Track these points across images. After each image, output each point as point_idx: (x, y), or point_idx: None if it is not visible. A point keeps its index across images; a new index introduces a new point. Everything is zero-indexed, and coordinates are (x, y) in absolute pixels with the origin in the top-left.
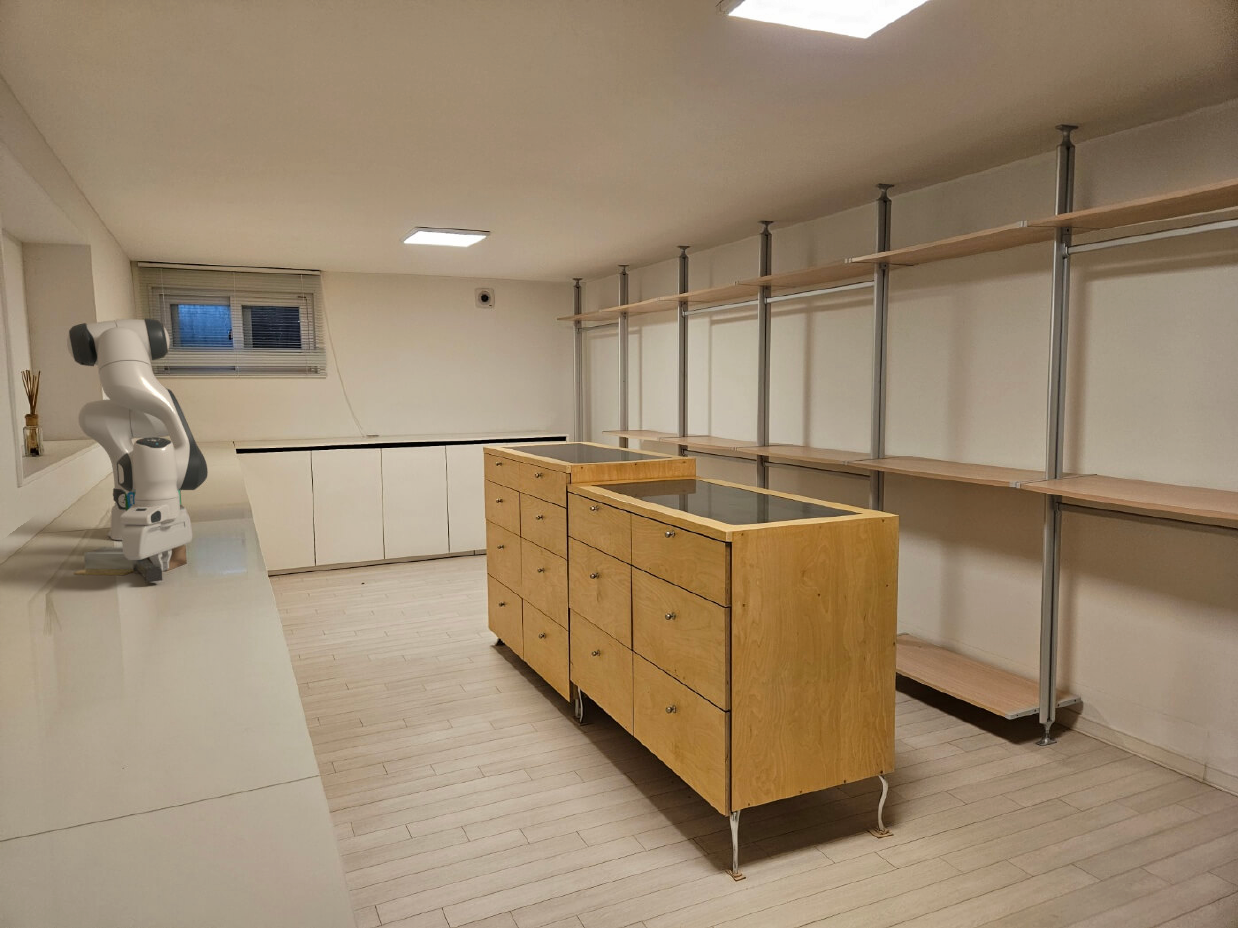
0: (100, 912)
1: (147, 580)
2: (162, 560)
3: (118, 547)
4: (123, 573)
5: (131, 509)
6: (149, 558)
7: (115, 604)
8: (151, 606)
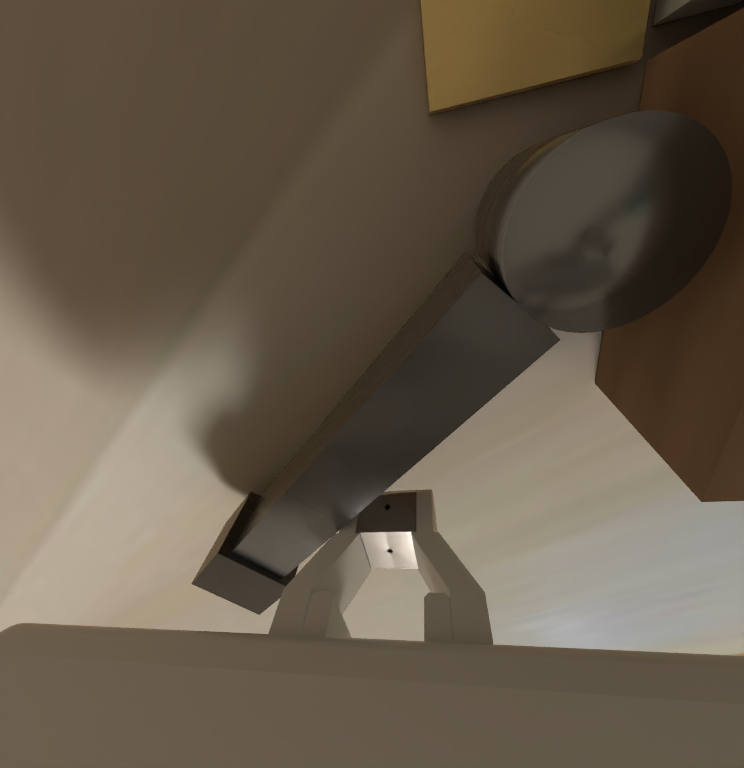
0: None
1: (225, 525)
2: (420, 557)
3: None
4: (428, 103)
5: None
6: (707, 265)
7: (34, 535)
8: (102, 611)
